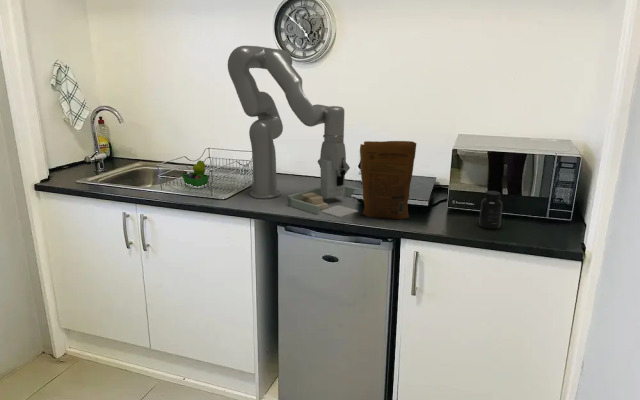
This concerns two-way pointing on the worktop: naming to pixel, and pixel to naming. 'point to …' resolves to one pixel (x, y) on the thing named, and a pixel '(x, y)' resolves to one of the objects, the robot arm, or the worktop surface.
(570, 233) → the worktop surface
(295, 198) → the tray
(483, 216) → the supplement bottle
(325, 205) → the bottom offcut
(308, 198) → the top offcut
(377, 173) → the pancake mix bag
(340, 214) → the mat
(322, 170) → the skincare box
